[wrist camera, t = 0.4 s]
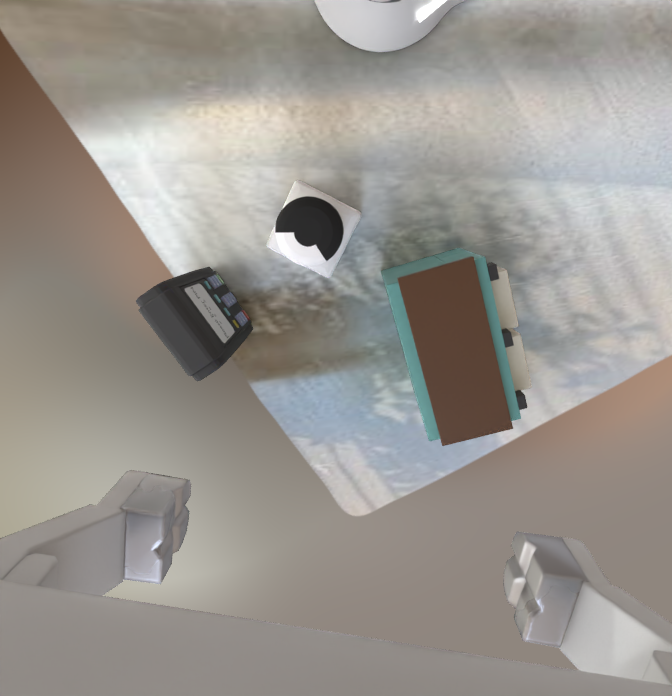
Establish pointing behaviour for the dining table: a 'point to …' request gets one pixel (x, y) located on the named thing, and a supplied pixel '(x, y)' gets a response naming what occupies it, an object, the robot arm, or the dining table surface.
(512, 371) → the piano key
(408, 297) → the toy piano
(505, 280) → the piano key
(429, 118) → the dining table surface
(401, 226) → the dining table surface
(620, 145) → the dining table surface
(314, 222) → the medicine bottle
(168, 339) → the card reader
